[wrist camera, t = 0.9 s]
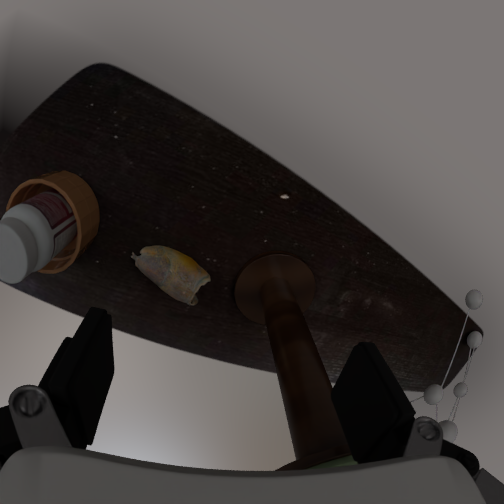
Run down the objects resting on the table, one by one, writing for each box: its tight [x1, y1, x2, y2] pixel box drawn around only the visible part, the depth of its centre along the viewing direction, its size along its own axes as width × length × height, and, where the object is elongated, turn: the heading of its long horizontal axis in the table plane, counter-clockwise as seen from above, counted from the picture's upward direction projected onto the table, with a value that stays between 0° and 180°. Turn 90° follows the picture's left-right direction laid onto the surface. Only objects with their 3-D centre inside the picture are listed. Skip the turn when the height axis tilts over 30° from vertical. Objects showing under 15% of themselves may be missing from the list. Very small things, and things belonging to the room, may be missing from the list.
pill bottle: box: [0, 188, 78, 284], centre depth 24 cm, size 6×6×11 cm
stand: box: [234, 251, 352, 471], centre depth 24 cm, size 9×9×24 cm
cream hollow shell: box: [131, 245, 211, 305], centre depth 31 cm, size 8×4×5 cm, turn 68°
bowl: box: [6, 171, 100, 274], centre depth 27 cm, size 9×9×6 cm
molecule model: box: [410, 290, 483, 443], centre depth 35 cm, size 14×25×18 cm, turn 136°
